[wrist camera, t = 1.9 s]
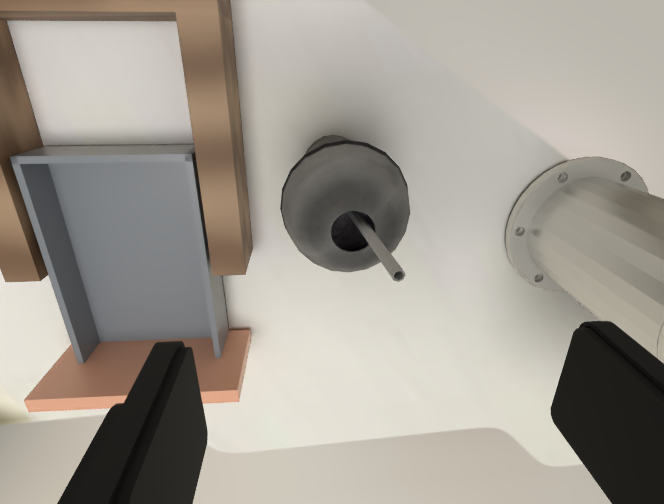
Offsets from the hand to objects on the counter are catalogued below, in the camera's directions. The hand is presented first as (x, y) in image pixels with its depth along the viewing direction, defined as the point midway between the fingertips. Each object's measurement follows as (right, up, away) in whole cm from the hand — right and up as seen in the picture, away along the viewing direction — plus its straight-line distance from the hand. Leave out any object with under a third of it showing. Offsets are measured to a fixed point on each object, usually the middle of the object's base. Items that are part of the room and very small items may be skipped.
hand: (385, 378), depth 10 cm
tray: (-17, +4, +25) cm, 31 cm away
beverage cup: (-1, +10, +23) cm, 26 cm away
